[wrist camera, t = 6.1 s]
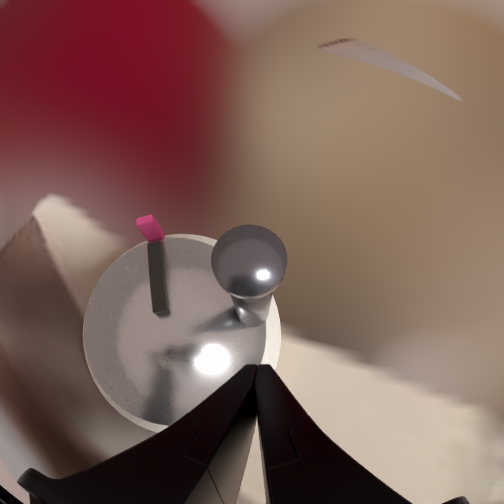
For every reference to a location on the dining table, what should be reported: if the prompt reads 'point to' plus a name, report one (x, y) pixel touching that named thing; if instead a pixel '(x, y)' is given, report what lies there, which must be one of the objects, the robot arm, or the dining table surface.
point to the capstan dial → (181, 319)
